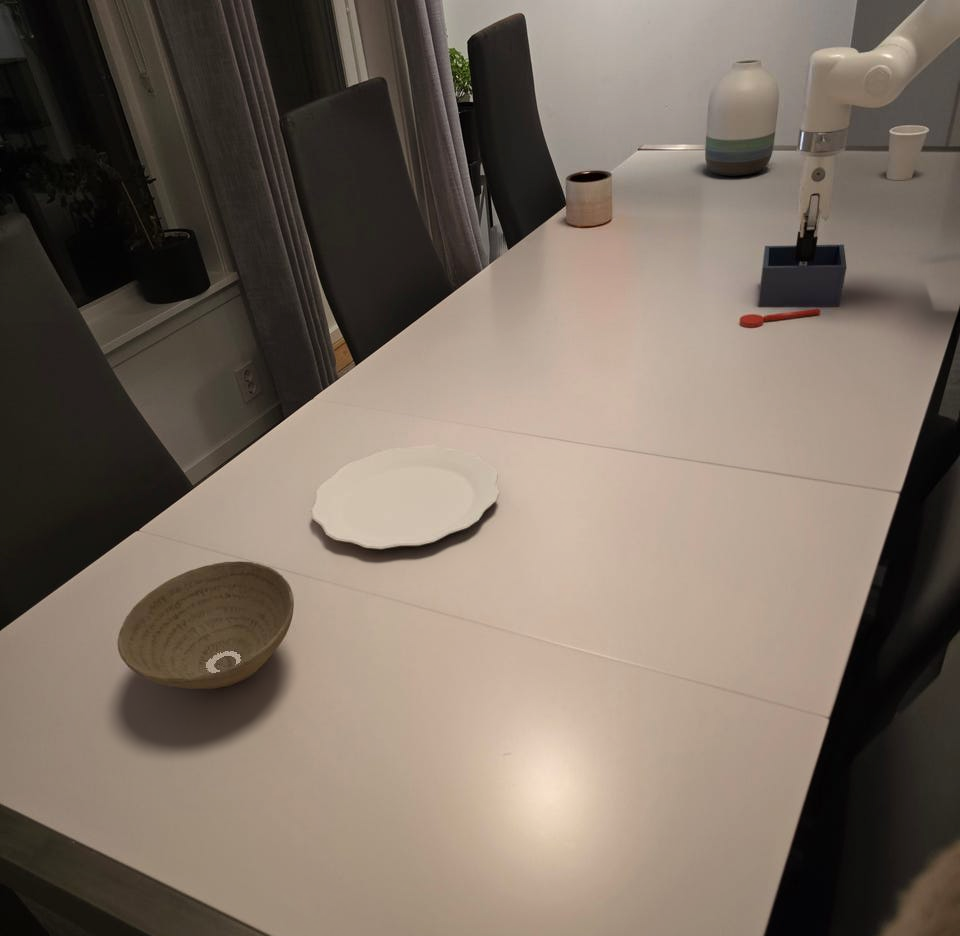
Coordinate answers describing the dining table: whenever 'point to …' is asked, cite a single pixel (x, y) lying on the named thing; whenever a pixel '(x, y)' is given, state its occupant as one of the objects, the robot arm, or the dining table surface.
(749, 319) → the red spoon
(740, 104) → the vase
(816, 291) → the bin
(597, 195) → the planter
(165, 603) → the bowl
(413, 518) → the plate
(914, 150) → the dixie cup
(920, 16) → the robot arm
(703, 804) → the dining table surface
